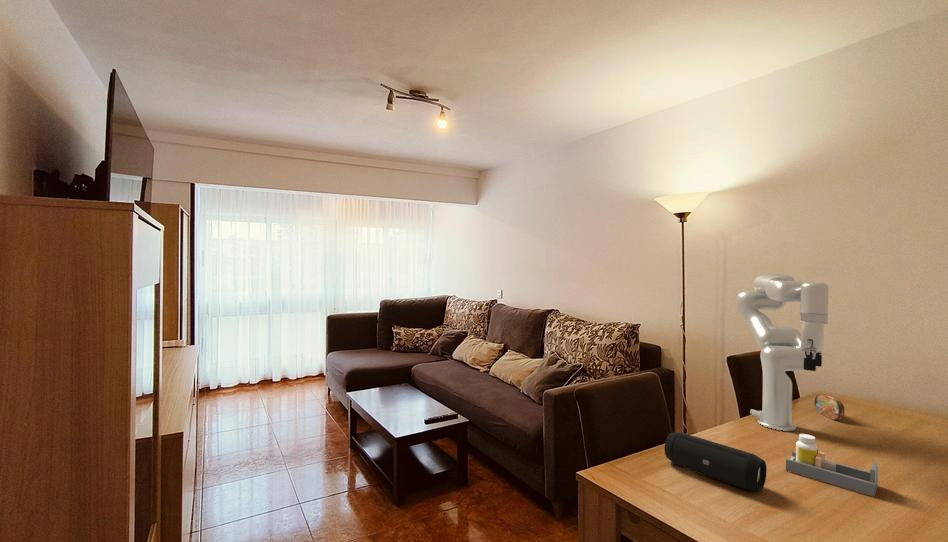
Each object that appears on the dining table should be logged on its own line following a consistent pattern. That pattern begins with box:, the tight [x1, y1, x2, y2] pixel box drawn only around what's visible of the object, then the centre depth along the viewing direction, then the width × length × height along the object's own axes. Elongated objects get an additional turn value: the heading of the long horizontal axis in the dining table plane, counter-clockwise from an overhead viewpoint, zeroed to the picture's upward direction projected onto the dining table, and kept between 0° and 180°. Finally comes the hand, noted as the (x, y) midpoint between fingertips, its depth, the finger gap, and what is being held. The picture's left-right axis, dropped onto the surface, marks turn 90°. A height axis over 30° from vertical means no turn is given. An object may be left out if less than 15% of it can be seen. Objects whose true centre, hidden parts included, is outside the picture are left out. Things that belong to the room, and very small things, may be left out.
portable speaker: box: [664, 431, 768, 492], centre depth 128 cm, size 26×10×10 cm, turn 40°
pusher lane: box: [785, 451, 879, 498], centre depth 127 cm, size 20×9×7 cm, turn 42°
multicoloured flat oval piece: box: [814, 393, 845, 421], centre depth 181 cm, size 15×3×8 cm, turn 172°
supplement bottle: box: [795, 433, 819, 466], centre depth 132 cm, size 5×5×10 cm
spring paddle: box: [815, 451, 837, 472], centre depth 128 cm, size 4×6×5 cm, turn 132°
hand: (812, 368), depth 147 cm, fingers open, 9 cm apart
